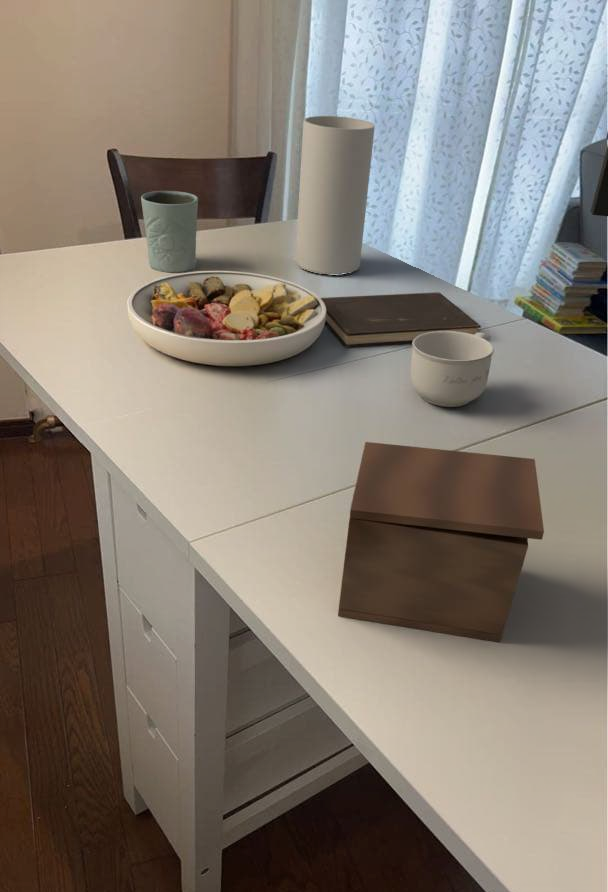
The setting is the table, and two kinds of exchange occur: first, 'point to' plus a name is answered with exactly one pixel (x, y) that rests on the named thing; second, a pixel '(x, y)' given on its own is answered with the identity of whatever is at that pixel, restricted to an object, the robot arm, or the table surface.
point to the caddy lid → (448, 490)
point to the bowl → (226, 317)
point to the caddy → (430, 577)
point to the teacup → (450, 366)
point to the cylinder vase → (333, 193)
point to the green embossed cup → (170, 229)
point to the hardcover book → (393, 318)
